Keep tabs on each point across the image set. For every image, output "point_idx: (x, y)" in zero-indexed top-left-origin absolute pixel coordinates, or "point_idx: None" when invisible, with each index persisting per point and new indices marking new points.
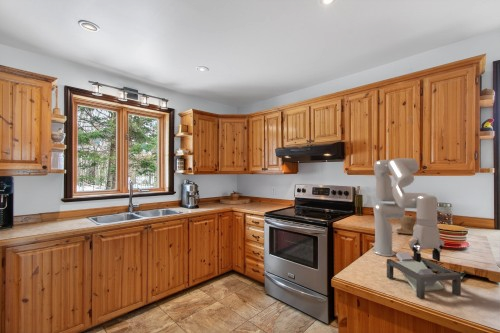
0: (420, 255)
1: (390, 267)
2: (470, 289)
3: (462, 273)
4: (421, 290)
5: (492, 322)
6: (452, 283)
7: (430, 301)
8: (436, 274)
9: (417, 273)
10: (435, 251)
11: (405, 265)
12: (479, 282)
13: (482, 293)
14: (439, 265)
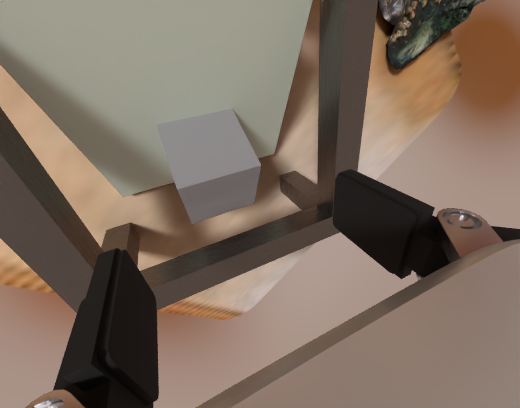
0: (150, 382)
1: None
2: (362, 136)
3: (461, 7)
4: None
5: (260, 295)
6: (300, 193)
7: (154, 251)
8: (233, 262)
9: None
10: (407, 245)
11: (89, 20)
12: (438, 76)
13: (368, 161)
14: (358, 116)
